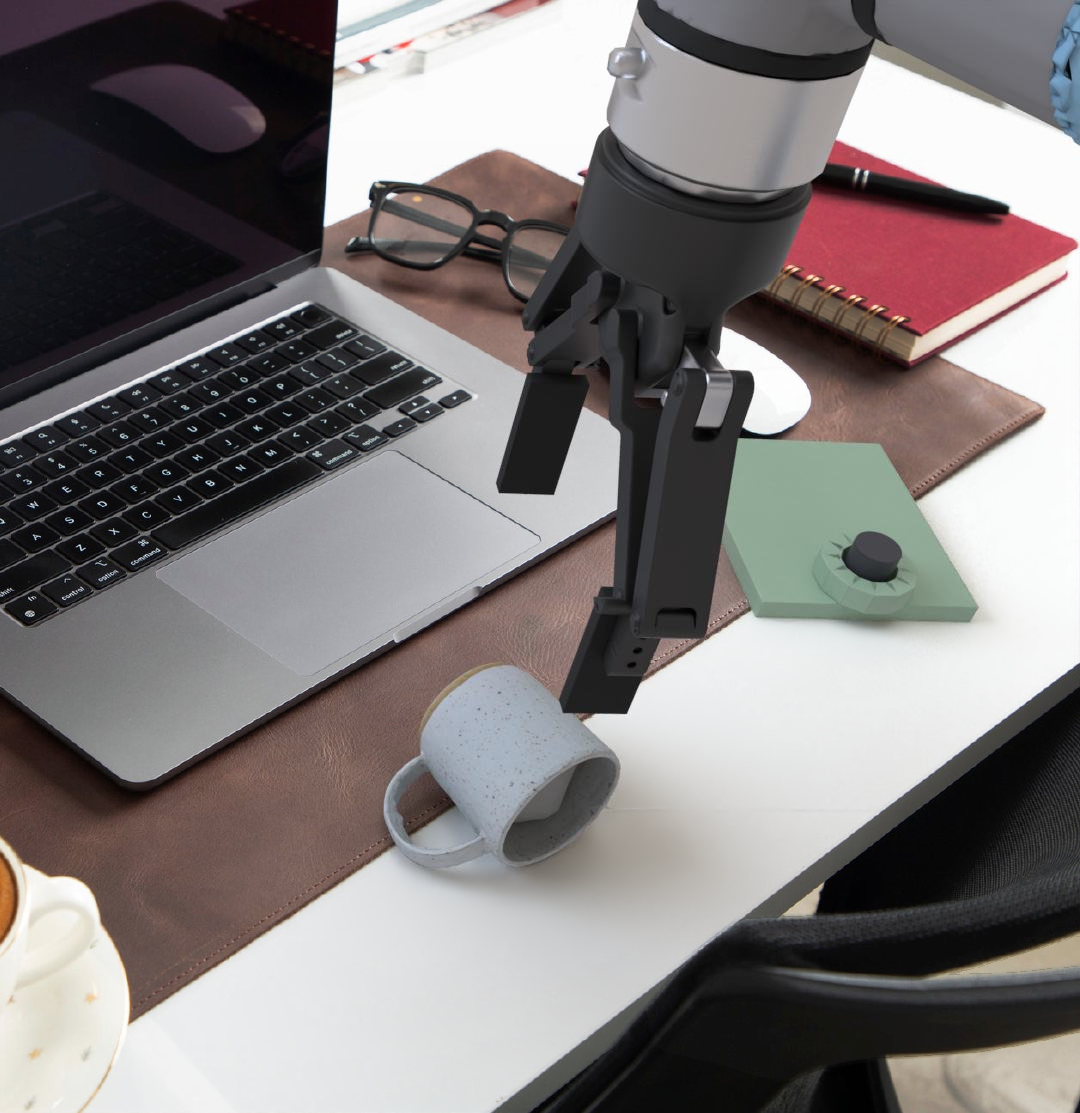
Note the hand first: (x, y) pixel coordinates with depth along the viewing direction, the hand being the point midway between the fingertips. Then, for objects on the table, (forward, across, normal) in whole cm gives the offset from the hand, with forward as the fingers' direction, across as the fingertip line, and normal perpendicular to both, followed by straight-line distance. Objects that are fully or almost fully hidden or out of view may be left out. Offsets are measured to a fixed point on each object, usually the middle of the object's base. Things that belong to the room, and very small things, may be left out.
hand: (555, 590), depth 64 cm
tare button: (+14, -17, +27) cm, 35 cm away
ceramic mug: (+17, 0, 0) cm, 17 cm away
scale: (+16, -23, +27) cm, 39 cm away
